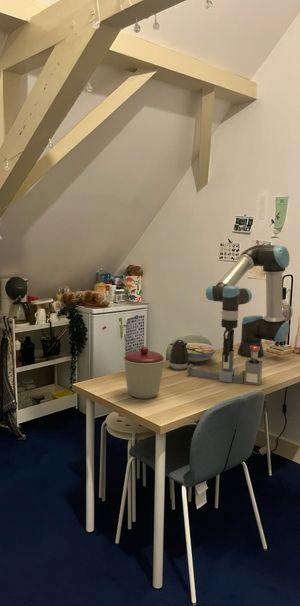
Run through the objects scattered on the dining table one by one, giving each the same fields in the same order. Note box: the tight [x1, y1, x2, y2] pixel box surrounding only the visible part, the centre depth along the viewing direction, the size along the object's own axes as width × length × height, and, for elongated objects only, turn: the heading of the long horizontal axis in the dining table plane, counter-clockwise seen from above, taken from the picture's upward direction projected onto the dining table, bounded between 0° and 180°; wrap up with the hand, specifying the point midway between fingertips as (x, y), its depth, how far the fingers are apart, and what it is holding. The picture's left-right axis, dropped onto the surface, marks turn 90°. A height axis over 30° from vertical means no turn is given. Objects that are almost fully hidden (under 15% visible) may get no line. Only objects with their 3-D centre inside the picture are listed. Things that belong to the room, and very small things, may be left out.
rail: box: [186, 363, 245, 385], centre depth 217 cm, size 5×27×5 cm, turn 69°
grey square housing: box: [243, 358, 263, 386], centre depth 213 cm, size 7×7×10 cm
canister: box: [122, 346, 166, 399], centre depth 192 cm, size 18×18×21 cm
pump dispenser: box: [168, 339, 190, 370], centre depth 232 cm, size 10×10×15 cm
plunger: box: [250, 345, 260, 363], centre depth 211 cm, size 5×5×7 cm
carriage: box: [218, 351, 236, 384], centre depth 214 cm, size 7×6×14 cm
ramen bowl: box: [169, 342, 218, 363], centre depth 248 cm, size 25×23×8 cm
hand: (227, 366), depth 215 cm, fingers open, 5 cm apart
